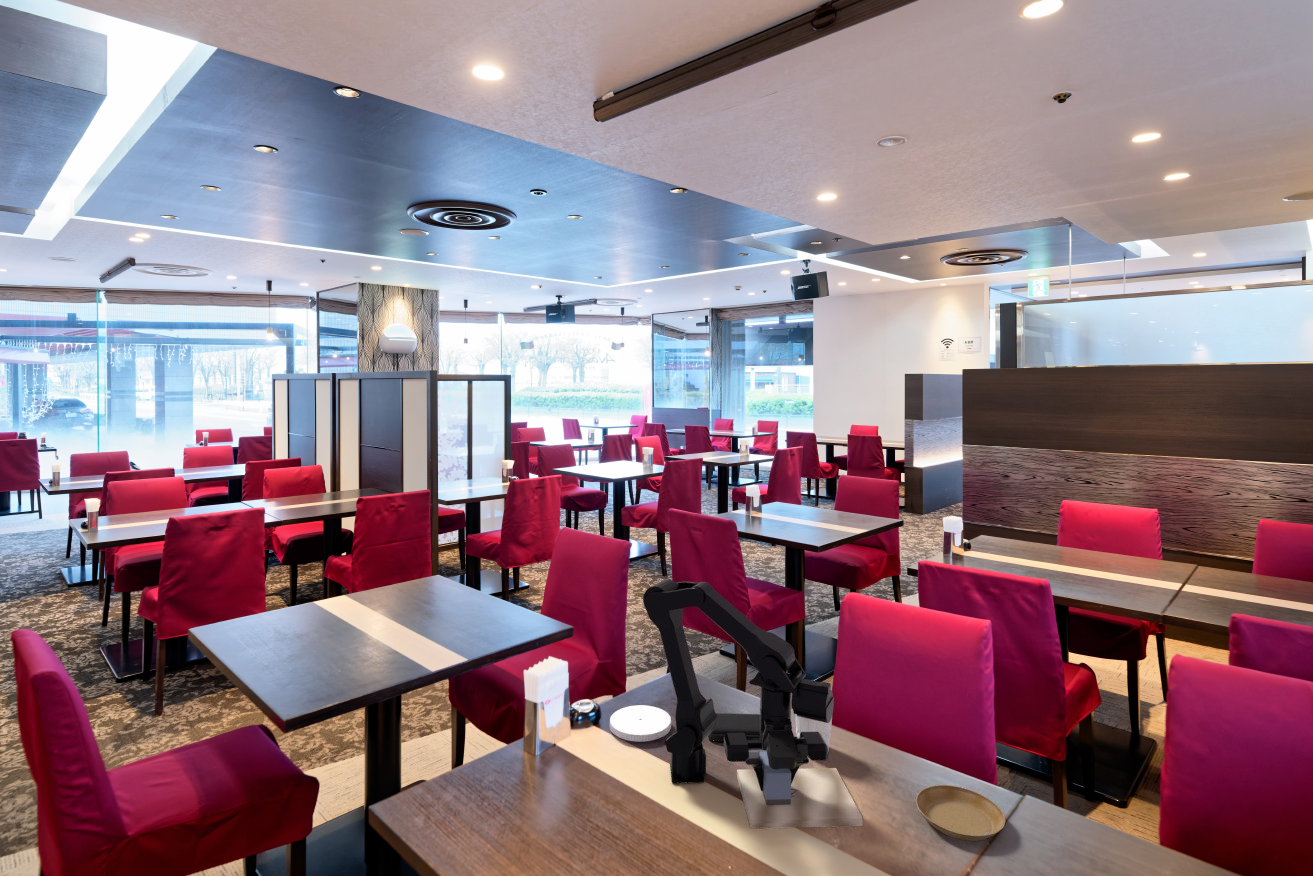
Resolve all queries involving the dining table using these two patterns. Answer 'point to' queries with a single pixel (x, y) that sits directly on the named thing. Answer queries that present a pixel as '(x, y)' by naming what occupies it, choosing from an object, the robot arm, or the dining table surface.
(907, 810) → the dining table surface
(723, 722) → the carrying case or bag
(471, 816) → the dining table surface
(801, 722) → the white cup
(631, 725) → the plastic lid
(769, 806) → the board
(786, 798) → the block
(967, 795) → the plant saucer
